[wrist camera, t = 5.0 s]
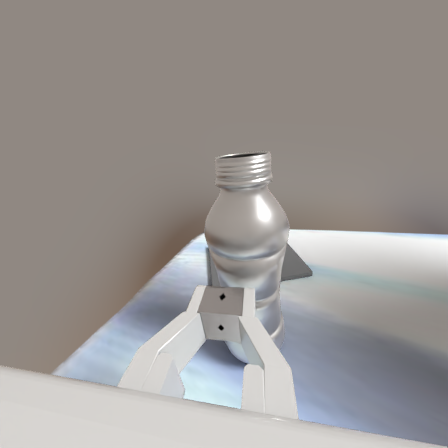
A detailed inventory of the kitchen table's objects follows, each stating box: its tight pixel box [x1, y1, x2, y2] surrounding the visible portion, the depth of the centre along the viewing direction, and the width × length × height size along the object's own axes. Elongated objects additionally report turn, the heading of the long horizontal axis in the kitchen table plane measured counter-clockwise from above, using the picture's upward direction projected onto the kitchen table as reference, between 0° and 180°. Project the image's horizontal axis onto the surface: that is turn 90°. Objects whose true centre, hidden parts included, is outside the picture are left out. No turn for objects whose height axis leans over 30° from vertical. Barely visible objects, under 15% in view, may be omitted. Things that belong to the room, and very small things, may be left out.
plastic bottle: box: [204, 152, 290, 364], centre depth 16 cm, size 6×7×20 cm
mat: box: [209, 244, 312, 287], centre depth 33 cm, size 16×13×1 cm
